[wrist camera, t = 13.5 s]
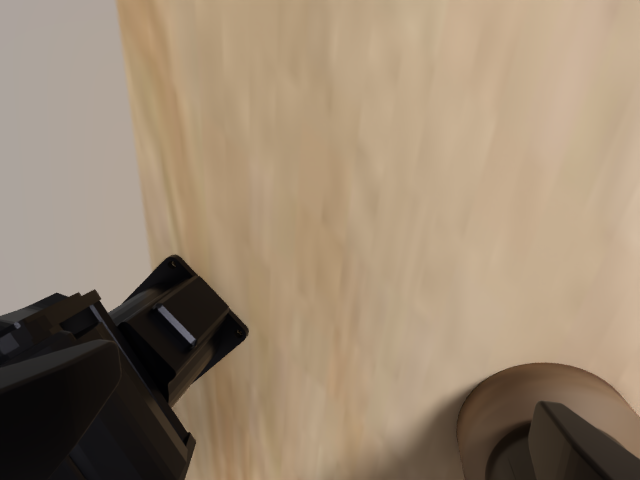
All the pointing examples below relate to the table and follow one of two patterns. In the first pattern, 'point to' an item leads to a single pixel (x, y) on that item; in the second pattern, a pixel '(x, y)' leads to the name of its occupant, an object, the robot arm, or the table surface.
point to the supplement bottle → (514, 457)
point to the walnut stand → (519, 402)
